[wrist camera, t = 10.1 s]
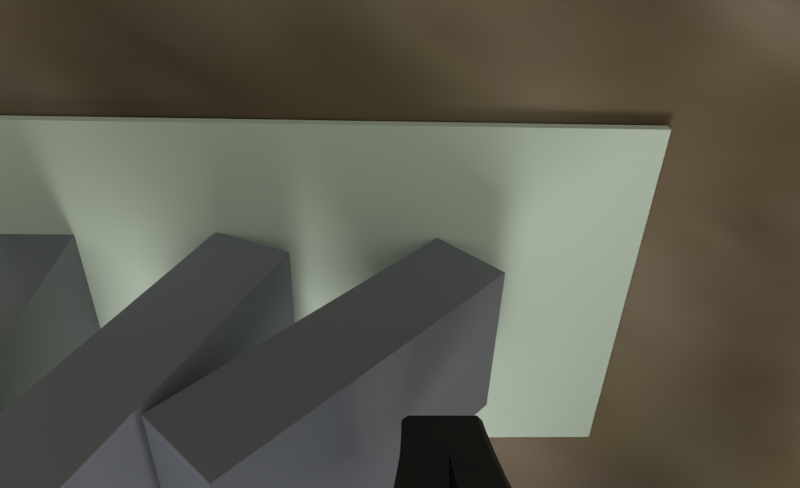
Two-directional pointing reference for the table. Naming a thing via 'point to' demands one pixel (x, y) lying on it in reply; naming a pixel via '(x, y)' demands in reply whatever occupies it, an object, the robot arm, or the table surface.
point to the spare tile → (143, 368)
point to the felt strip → (365, 221)
